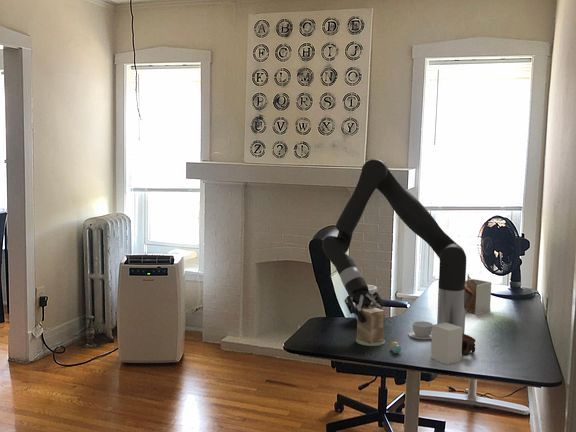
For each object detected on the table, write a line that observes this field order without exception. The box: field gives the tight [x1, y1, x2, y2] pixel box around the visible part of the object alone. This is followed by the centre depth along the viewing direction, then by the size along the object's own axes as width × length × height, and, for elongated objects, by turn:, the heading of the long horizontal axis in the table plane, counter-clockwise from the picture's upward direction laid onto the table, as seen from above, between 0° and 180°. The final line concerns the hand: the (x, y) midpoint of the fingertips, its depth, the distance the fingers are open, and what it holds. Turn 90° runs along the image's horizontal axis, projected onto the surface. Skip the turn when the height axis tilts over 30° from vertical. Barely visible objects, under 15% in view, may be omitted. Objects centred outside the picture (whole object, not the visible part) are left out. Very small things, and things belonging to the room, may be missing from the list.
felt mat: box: [355, 338, 386, 347], centre depth 220 cm, size 10×10×1 cm
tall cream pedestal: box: [430, 322, 463, 365], centre depth 201 cm, size 6×7×11 cm
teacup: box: [408, 320, 434, 340], centre depth 227 cm, size 10×10×5 cm
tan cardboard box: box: [356, 306, 386, 344], centre depth 219 cm, size 6×7×11 cm
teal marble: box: [391, 344, 402, 355], centre depth 207 cm, size 3×3×3 cm
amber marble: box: [390, 341, 400, 350], centre depth 210 cm, size 3×3×3 cm
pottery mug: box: [461, 333, 476, 357], centre depth 206 cm, size 12×10×8 cm
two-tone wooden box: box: [464, 274, 492, 315], centre depth 264 cm, size 9×11×17 cm
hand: (373, 320), depth 218 cm, fingers open, 8 cm apart
